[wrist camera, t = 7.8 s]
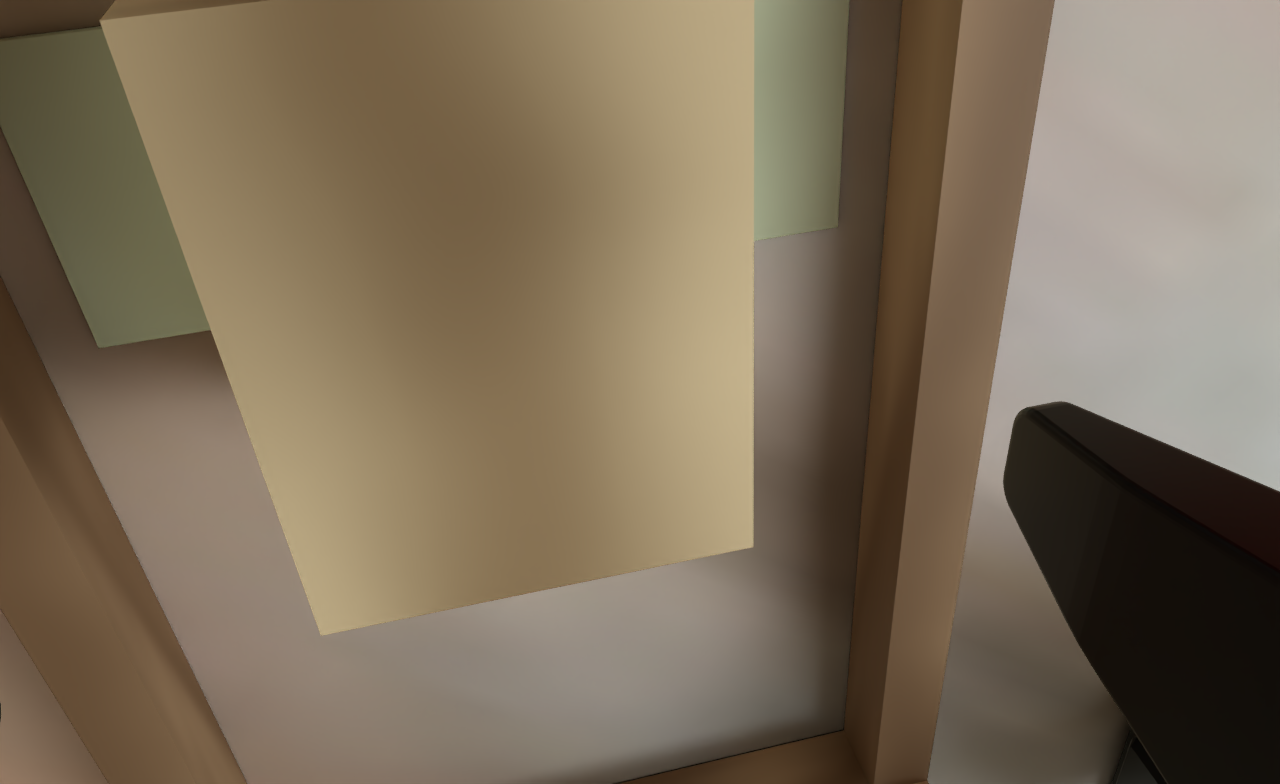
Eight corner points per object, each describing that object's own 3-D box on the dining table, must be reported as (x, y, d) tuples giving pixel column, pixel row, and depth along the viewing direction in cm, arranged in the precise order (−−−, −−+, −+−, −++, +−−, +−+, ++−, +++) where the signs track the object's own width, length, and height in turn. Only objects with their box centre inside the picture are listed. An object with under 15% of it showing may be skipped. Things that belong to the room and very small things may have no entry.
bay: (1033, -379, 14) (1169, -392, 12) (890, 751, 29) (938, 847, 27) (-412, -264, 12) (-611, -250, 9) (241, 907, 27) (229, 1029, 24)
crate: (625, -154, 15) (754, -75, 10) (656, 338, 19) (753, 554, 15) (188, -109, 14) (93, 2, 9) (334, 394, 19) (324, 642, 14)
